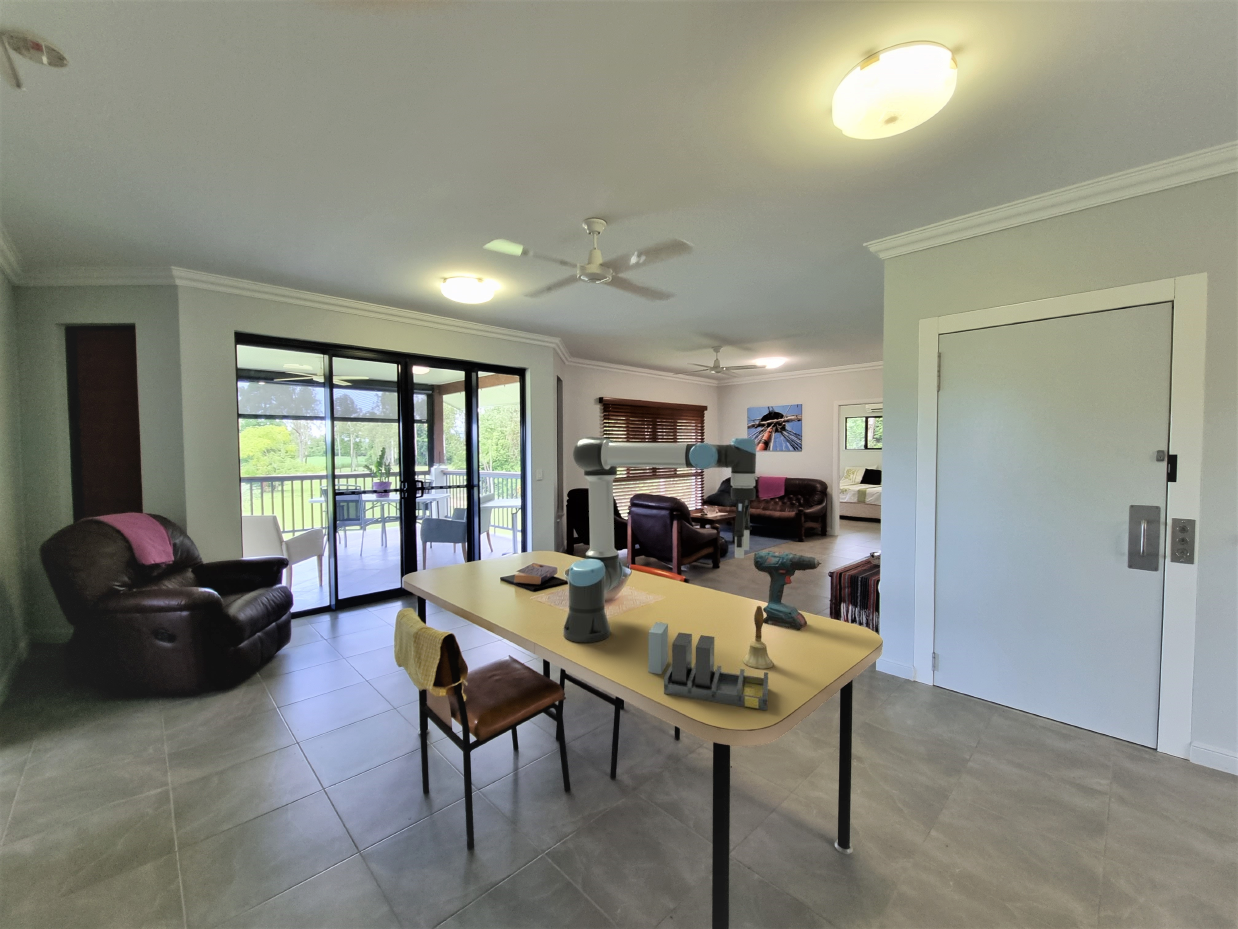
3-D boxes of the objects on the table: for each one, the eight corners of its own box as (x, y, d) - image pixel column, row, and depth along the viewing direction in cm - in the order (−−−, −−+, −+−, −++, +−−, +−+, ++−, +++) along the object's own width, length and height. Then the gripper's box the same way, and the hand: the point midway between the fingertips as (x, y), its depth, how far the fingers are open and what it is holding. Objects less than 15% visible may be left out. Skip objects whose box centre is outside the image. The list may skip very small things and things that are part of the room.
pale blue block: (648, 672, 130) (648, 631, 129) (655, 660, 137) (655, 622, 137) (661, 674, 128) (661, 633, 128) (667, 662, 136) (668, 623, 136)
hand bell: (750, 654, 142) (750, 600, 141) (777, 662, 136) (778, 606, 136) (737, 663, 135) (738, 607, 135) (766, 672, 130) (766, 613, 130)
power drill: (817, 635, 157) (818, 559, 156) (749, 620, 171) (750, 550, 170) (824, 627, 164) (825, 554, 163) (759, 613, 178) (759, 546, 177)
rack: (663, 694, 117) (663, 646, 117) (673, 674, 128) (673, 629, 128) (766, 712, 110) (767, 659, 109) (768, 688, 121) (768, 641, 120)
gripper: (751, 489, 139) (750, 562, 140) (759, 485, 162) (758, 547, 163) (724, 489, 142) (723, 560, 142) (736, 484, 165) (735, 545, 165)
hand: (742, 553), depth 153 cm, fingers open, 13 cm apart
